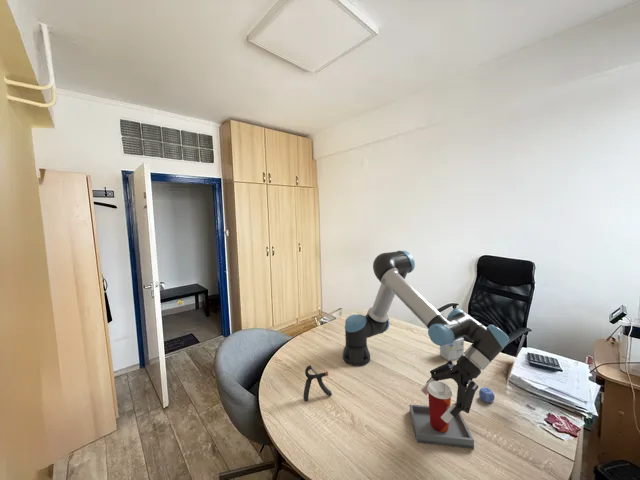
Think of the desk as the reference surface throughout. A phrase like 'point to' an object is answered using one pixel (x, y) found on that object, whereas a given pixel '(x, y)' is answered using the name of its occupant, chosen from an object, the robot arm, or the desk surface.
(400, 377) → the desk surface
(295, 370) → the desk surface
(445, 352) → the light bulb box
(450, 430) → the tray
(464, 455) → the desk surface
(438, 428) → the coffee cup
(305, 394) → the hand grip strengthener
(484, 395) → the decorative dice
